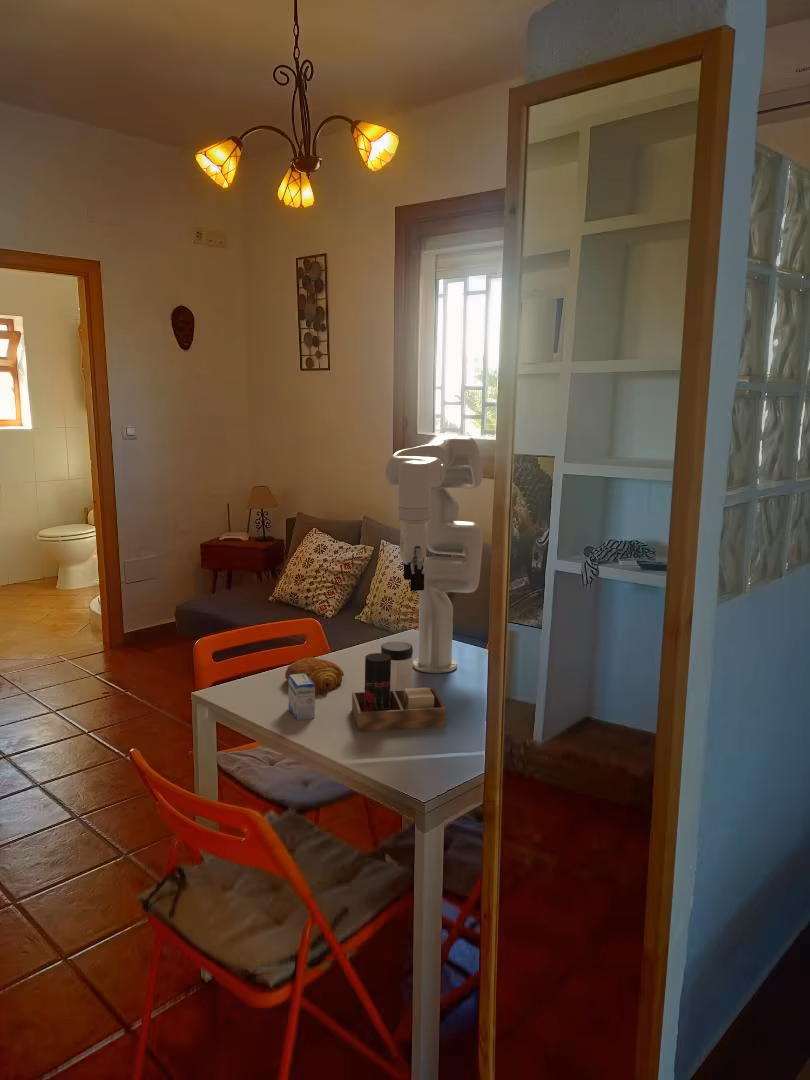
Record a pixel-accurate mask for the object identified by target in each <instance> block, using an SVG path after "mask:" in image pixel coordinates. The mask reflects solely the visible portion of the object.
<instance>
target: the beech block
mask: <svg viewBox="0 0 810 1080" xmlns="http://www.w3.org/2000/svg"><path fill="white" fill-rule="evenodd" d="M429 688H430V687H429V686H428V687H412V688H407V689H404V710H405V709H423V708H434V695H433V694H432V692H431V690H430V689H429Z"/></svg>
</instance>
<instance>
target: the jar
mask: <svg viewBox="0 0 810 1080" xmlns="http://www.w3.org/2000/svg"><path fill="white" fill-rule="evenodd" d="M413 650H414V648H413V645H412V644H411V643H409V642H405V641H388V642H384V643H382V644H381V646H380V653H383V654H387V655H390V656H391V681H390V690H404V689H407V688H413V653H414V651H413Z"/></svg>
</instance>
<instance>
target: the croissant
mask: <svg viewBox="0 0 810 1080" xmlns="http://www.w3.org/2000/svg"><path fill="white" fill-rule="evenodd" d="M294 674H306V675H307V676H308V677H309V678H310V680H311V681H312V682H313V683H314V684H315V694H316V693H317V694H325V693H327V692H330V691H332V690H334V689H335V688H336V687H339V686H340V685H341V684H342V682H343V677H344V676H345V673H344V671H343V670H342V668H341V667H340V666H339V665H338V664H336V663H334V662H332V661H330V660H326V659H322V658H317V657H309V656H307V657H304V658H301V659H297V660H296V661H294V662H292V663H291V664H290V665H288V666H287V668H286V671H285V675H284V678H285V680H287V682H288V683H289V675H294Z"/></svg>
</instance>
